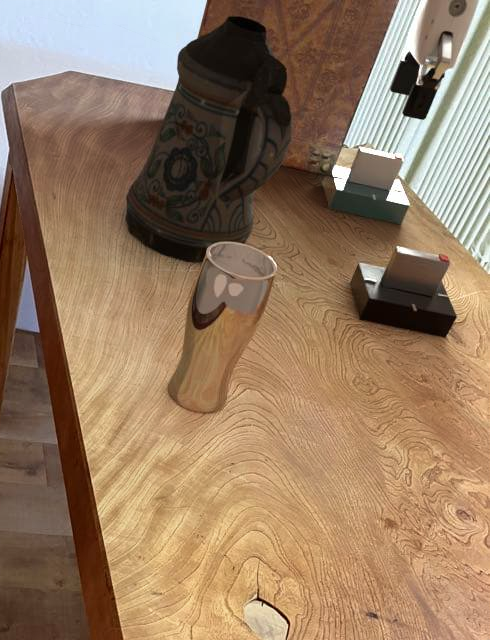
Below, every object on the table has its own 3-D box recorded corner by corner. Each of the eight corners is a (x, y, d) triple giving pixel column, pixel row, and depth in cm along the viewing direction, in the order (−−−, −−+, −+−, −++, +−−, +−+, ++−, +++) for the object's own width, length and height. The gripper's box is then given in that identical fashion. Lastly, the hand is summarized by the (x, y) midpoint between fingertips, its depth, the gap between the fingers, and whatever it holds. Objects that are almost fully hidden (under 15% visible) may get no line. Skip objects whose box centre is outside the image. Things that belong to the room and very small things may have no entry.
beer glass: (229, 382, 93) (277, 249, 83) (230, 422, 88) (281, 286, 78) (164, 368, 93) (204, 233, 82) (161, 407, 88) (204, 269, 77)
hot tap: (382, 286, 109) (399, 250, 105) (380, 279, 110) (396, 244, 106) (433, 297, 109) (451, 261, 106) (430, 290, 110) (448, 255, 107)
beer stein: (162, 191, 124) (213, -12, 106) (285, 249, 118) (360, 44, 100) (97, 224, 113) (142, 4, 95) (229, 290, 107) (302, 69, 90)
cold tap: (348, 181, 131) (361, 149, 127) (347, 177, 132) (359, 144, 129) (391, 190, 131) (404, 158, 128) (389, 186, 132) (402, 154, 129)
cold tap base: (329, 211, 129) (338, 190, 127) (321, 181, 137) (329, 160, 135) (402, 227, 130) (411, 206, 128) (389, 196, 138) (398, 176, 136)
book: (172, 138, 138) (229, -92, 117) (176, 118, 145) (231, -104, 124) (331, 177, 139) (416, -45, 118) (328, 155, 145) (408, -59, 124)
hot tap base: (360, 323, 107) (370, 300, 105) (348, 280, 115) (358, 257, 113) (447, 341, 108) (459, 319, 106) (429, 297, 116) (440, 275, 114)
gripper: (510, -15, 105) (445, 133, 117) (475, -47, 118) (420, 90, 130) (449, -28, 105) (390, 121, 117) (421, -59, 117) (370, 79, 129)
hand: (406, 104), depth 123 cm, fingers open, 9 cm apart
